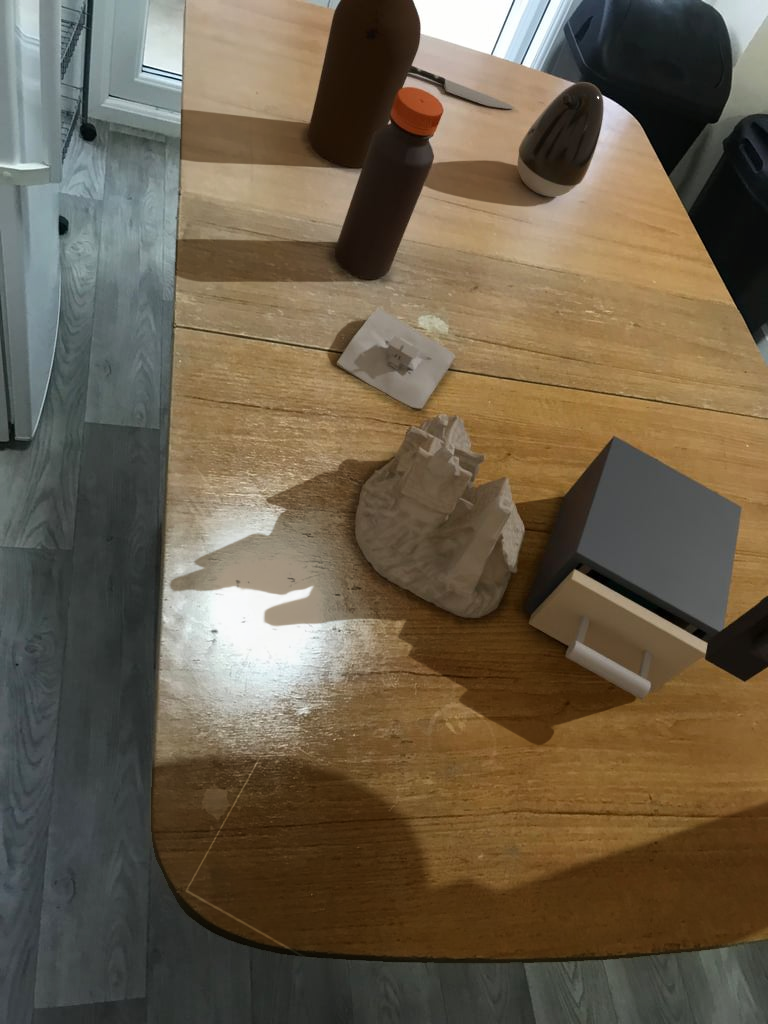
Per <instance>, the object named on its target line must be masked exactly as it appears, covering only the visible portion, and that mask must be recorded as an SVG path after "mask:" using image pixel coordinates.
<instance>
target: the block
mask: <svg viewBox="0 0 768 1024" xmlns="http://www.w3.org/2000/svg"><path fill="white" fill-rule="evenodd" d="M592 579H593V580H595V581H597V582H599V583H601V584H602V585H604V586H606V587H608V588H610V589H611V590H613V591H615V592H617V593H619V594H620V595H622V596H624V597H626V598H627V599H629V600H631V601H633V602H635V603H636V604H638V605H640V606H642V607H644V608H645V609H647V610H649V611H651V612H653V613H654V612H655V611H656V610H657V609H658V608H659V606H657V605H655V604H654V603H652V602H650V601H648V600H647V599H645V598H643V597H641V596H639V595H638V594H636V593H634V592H632V591H630V590H629V589H627V588H625V587H623V586H621V585H620V584H618V583H616V582H614V581H613V580H611V579H609V578H607V577H605V576H604V575H602V574H600V573H598V572H596V571H595V570H594V571H593V574H592Z"/></svg>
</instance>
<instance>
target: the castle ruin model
mask: <svg viewBox="0 0 768 1024" xmlns="http://www.w3.org/2000/svg"><path fill="white" fill-rule="evenodd" d="M471 446H472V442H471V438H470V436H469V434H468V432H467V430H466V427H465V422H464V421H463V420H462V418H461V417H460V416H459V415H458V414H454V416H453V415H449V416H448V415H447V414H446V413H438V414H437V415H436V416H435V418H434V417H433V418H432V417H431V418H426V419H424V420H422V421H421V423H420V425H419V427H416V426H414V425H411V426H409V428H408V429H407V430H406V432H405V435H404V439H403V441H402V443H401V445H400V446H399V448H398V451H397V452H396V455H394V456H395V457H394V458H392V459H391V460H390V461H389V462H388V463H386V464H385V465H384V466H382V467H381V468H380V469H375V470H374V472H373V474H372V475H371V476H370V477H369V478H368V479H367V480H366V481H365V483H364V484H362V486H361V491H360V493H359V496H358V498H359V499H358V500H359V501H358V505H357V508H356V511H355V520H354V523H355V527H354V534H355V540H356V542H357V545H358V547H359V548H360V550H361V552H362V554H363V556H364V558H365V559H366V560H367V562H368V563H370V565H371V567H372V568H373V569H374V571H376V573H378V574H379V575H380V576H381V577H383V578H384V579H386V580H387V581H388V582H391V583H392V584H395V585H397V586H398V587H399V588H401V589H403V590H408V591H410V593H413V594H414V595H415V596H416V597H419V598H420V599H423V600H424V601H426V602H428V603H432V604H433V605H434V606H436V607H438V608H440V609H442V610H443V611H445V612H449V613H451V614H453V615H455V616H458V617H462V618H465V619H466V618H467V619H468V618H470V619H479V618H481V617H485V616H487V615H489V614H491V613H492V612H494V611H495V610H497V609H498V607H499V605H500V604H501V600H503V596H504V593H505V591H506V590H507V588H508V584H509V582H510V580H511V577H512V574H513V573H514V574H517V571H518V562H519V559H520V551H521V548H522V546H523V544H524V543H523V542H524V538H525V535H526V530H525V525H524V521H523V520H522V519H521V516H520V514H519V513H518V509H517V506H516V503H515V502H514V501H513V494H512V490H511V487H512V486H511V485H510V479H509V478H508V477H506V476H505V477H504V476H503V477H501V478H498V479H495V480H491V481H487V482H486V483H484V484H483V483H482V484H480V485H478V486H475V487H473V486H474V481H475V479H476V477H477V475H478V474H479V470H480V465H481V463H483V462H484V461H485V458H486V455H485V454H481V453H479V452H478V453H477V452H476V451H475V452H474V451H472V450H471Z"/></svg>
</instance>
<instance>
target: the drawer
mask: <svg viewBox="0 0 768 1024" xmlns="http://www.w3.org/2000/svg"><path fill="white" fill-rule="evenodd" d="M593 571H594V570H593V569H591V568H589V567H587V566H586V565H584V564H582V563H579V564H578V566H577V567H576V568H575V569H574V570H573V571H572V572H571V573H570V574H569V575H568V576H567V577H566V578H565V579H564V580H563V581H562V582H561V584H560V585H559V586H558V587H557V588H556V589H555V590H554V591H553V592H552V593H551V594H550V595H549V596H548V598H547V599H546V600H545V601H544V602H543V603H542V604H541V605H540V606H539V607H538V608H537V609H536V610H535V611H534V612H533V613H531V615H530V618H529V621H528V625H530V626H532V627H533V628H534V629H537V630H539V631H541V632H542V633H544V634H545V635H548V636H549V637H551V638H553V639H554V640H557V641H559V642H560V643H562V644H563V645H566V646H568V647H567V649H566V652H565V658H566V659H568V660H570V661H572V662H573V663H575V664H577V665H579V666H581V667H582V668H584V669H585V670H588V671H589V672H592V673H593V674H595V675H596V676H599V677H600V678H602V679H604V680H606V681H607V682H608V683H609V682H610V683H611V684H613V685H614V686H616V687H618V688H620V689H622V690H623V691H625V692H627V693H629V694H631V695H633V696H634V697H636V698H638V699H640V700H643V699H644V698H646V697H647V695H648V694H649V693H651V694H653V693H655V692H657V691H658V690H659V689H661V688H662V687H663V686H665V685H666V684H667V683H669V682H670V681H672V680H673V679H675V678H676V677H678V676H679V675H680V674H681V673H683V672H684V671H685V670H687V669H688V668H690V667H691V666H693V665H694V664H695V663H697V662H698V661H699V660H701V659H702V658H703V657H705V656H706V650H707V644H708V643H706V642H704V641H703V640H701V639H699V638H697V637H695V636H694V635H692V633H693V632H694V631H695V630H697V629H698V628H697V627H695V626H693V625H691V624H689V623H688V622H686V621H684V620H682V619H681V618H679V617H677V616H675V615H673V614H672V613H670V612H668V611H666V610H664V609H663V608H661V607H659V608H658V609H657V610H656V611H655V612H654V613H653V612H651V611H649V610H647V609H645V608H644V607H642V606H640V605H638V604H636V603H635V602H633V601H631V600H629V599H627V598H626V597H624V596H622V595H620V594H619V593H617V592H615V591H613V590H611V589H610V588H608V587H606V586H604V585H602V584H601V583H599V582H597V581H595V580H593V579H592V574H593Z"/></svg>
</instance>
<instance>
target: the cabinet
mask: <svg viewBox="0 0 768 1024" xmlns="http://www.w3.org/2000/svg"><path fill="white" fill-rule="evenodd" d="M597 454H598V455H597V456H596V457H595V458H594V459H593V461H592V462H591V463H590V464H589V465H588V466H587V468H586V469H585V470H584V471H583V473H582V474H581V475H580V476H579V478H578V479H576V481H575V482H574V483H573V485H572V486H571V487H570V488H569V490H568V491H567V492H566V493H565V495H564V496H563V500H562V502H561V505H560V508H559V511H558V513H557V516H556V519H555V521H554V524H553V528H552V530H551V533H550V535H549V538H548V541H547V543H546V547H545V549H544V551H543V555H542V558H541V560H540V562H539V566H538V568H537V572H536V574H535V576H534V578H533V579H534V580H533V583H532V585H531V588H530V591H529V594H528V596H527V599H526V602H525V604H524V606H523V607H524V608H523V610H525V611H527V612H529V613H531V614H532V613H533V612H534V611H535V610H536V609H537V608H538V607H539V606H540V605H541V604H542V603H543V602H544V601H545V600H546V599H547V598H548V596H549V595H550V594H551V593H552V592H553V591H554V590H555V589H556V588H557V587H558V586H559V585H560V584H561V582H562V581H563V580H564V579H565V578H566V577H567V576H568V575H569V574H570V573H571V572H572V571H573V570H574V569H575V568H576V567H577V566H578V564H579V563H582V564H584V565H586V566H587V567H589V568H591V569H593V570H595V571H596V572H598V573H600V574H602V575H604V576H605V577H607V578H609V579H611V580H613V581H614V582H616V583H618V584H620V585H621V586H623V587H625V588H627V589H629V590H630V591H632V592H634V593H636V594H638V595H639V596H641V597H643V598H645V599H647V600H648V601H650V602H652V603H654V604H655V605H657V606H659V607H661V608H663V609H664V610H666V611H668V612H670V613H672V614H673V615H675V616H677V617H679V618H681V619H682V620H684V621H686V622H688V623H689V624H691V625H693V626H695V627H697V628H698V629H697V630H695V631H694V632H693V633H692V635H694V636H695V637H697V638H699V639H701V640H703V641H704V642H706V643H708V640H709V639H711V638H712V637H713V636H715V635H716V634H717V633H719V632H720V631H721V630H723V629H724V628H725V622H726V615H727V609H728V602H729V596H730V589H731V581H732V576H733V568H734V562H735V556H736V548H737V544H738V543H737V542H738V536H739V529H740V523H741V515H742V509H743V507H742V506H741V505H739V504H738V503H736V502H734V501H732V500H730V499H728V498H727V497H725V496H723V495H721V494H719V493H717V492H716V491H714V490H712V489H710V488H709V487H707V486H705V485H704V484H702V483H700V482H698V481H696V480H694V479H692V478H691V477H689V476H687V475H686V474H684V473H682V472H680V471H678V470H677V469H675V468H673V467H671V466H670V465H667V464H665V463H664V462H662V461H661V460H658V459H657V458H655V457H653V456H652V455H649V454H648V453H646V452H644V451H642V450H641V449H639V448H637V447H635V446H633V445H632V444H631V443H628V442H627V441H625V440H623V439H621V438H619V437H617V436H616V435H613V436H612V437H611V438H610V440H609V441H608V442H607V444H606V445H605V446H604V447H603V448H602V450H601V451H600V452H599V453H597Z"/></svg>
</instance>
